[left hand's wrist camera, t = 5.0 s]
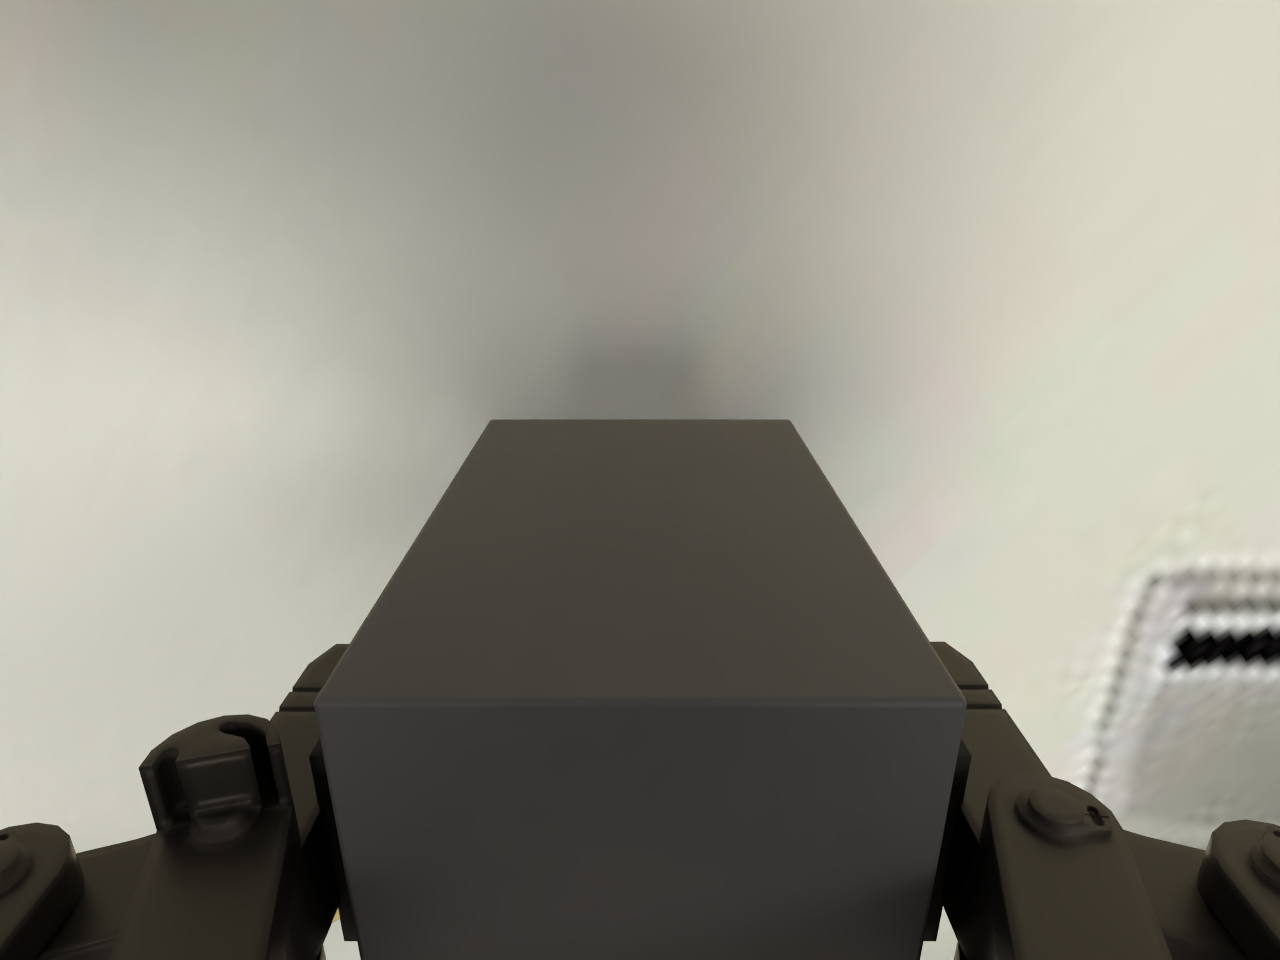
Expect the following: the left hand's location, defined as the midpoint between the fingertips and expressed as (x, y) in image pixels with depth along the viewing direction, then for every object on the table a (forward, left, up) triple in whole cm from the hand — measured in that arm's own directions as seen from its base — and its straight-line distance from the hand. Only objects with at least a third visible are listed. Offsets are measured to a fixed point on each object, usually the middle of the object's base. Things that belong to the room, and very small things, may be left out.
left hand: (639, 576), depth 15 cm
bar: (+14, 0, -1) cm, 14 cm away
